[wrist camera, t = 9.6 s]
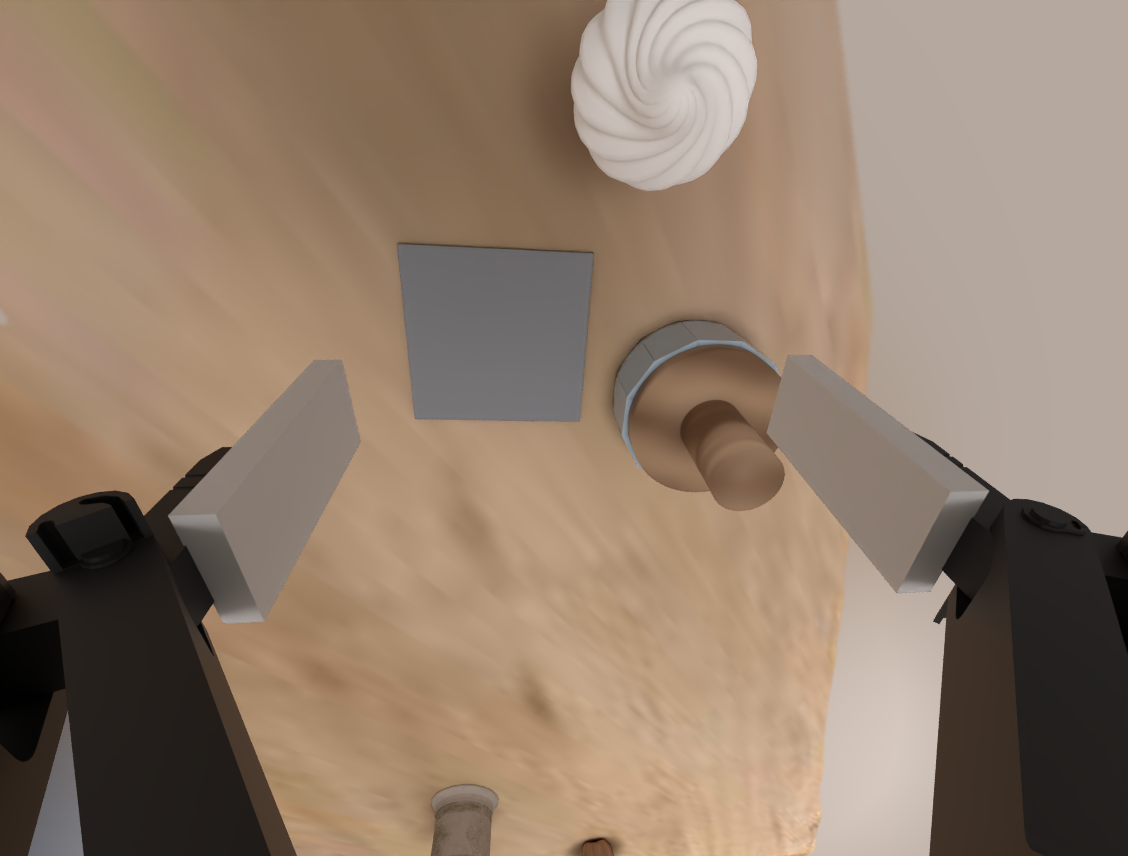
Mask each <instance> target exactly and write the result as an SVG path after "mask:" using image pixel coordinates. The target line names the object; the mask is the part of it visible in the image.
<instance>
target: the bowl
mask: <svg viewBox="0 0 1128 856" xmlns="http://www.w3.org/2000/svg"><path fill="white" fill-rule="evenodd" d="M710 344H725V345H733V346H737V347H741V348H743V349H746V350H748V351H751V352H752V353H754V354H756V355H757V356H759V357H760V358H761V359H762V360H763V361H765V362H766V363H767V364H768V365H769V366H771V367H772V368H773V369H774V370H775V371H776V372H777V374H778V371H777V367H776V364H775V363H773V362H772V361H771V360H770V359H769V358H767V357H766V356H765V355H764V354H763V353H761V352H760V351H759V350H758V349H757V348H755V347H754V346H753V345H752V344H750V343H749V342H747V341H746V340H745V339H743V338H742V337H740V336H739V335H738V334H736V333H735V332H734V331H732V330H731V329H729V328H728V327H726V326H725V325H724V324H718V323H715V322H711V321H704V320H687V321H681V322H677V323H673V324H670V325H667V326H665V327H662V328H660V329H658V330H656V331H654V332H653V333H651V334H649V335H648V336H647V337H645V338H644V339H643V340H641V341H640V342H639V343H638V344H637V345H636V346H635V347H634V348H633V349H632V350H631V352H630V353H629V354H628V355H627V357H626V358H625V360H624V361H623V363H622V365H621V367H620V369H619V371H618V374H617V377H616V380H615V385H614V393H613V400H614V408H613V412H614V415H615V418H616V420H617V423H618V426H619V429H620V432H621V435H622V437H623V439H624V441H625V443H626V445H627V447H628V449H629V450H630V452H631V454H632V456H633V458H634V460H635V462H636V464H637V466H638V467H639V468H641V469H643V468H642V467H641V466H640V464H639V462H638V461H637V458H636V456H635V454H634V451H633V448H632V446H631V443H630V439H629V435H628V415H629V410H630V406H631V404H632V401H633V398H634V396H635V394H636V392H637V390H638V389H639V387H640V386H641V384H642V383H643V381H644V380H645V379H646V378H647V377H648V376H649V374H650V373H651V372H652V371H653V370H655V369H656V368H657V367H658V366H659V365H660V364H662V363H663V362H665V361H666V360H667V359H669V358H671V357H673V356H674V355H676V354H678V353H680V352H683V351H685V350H688V349H691V348H694V347H698V346H703V345H710ZM778 375H779V374H778Z"/></svg>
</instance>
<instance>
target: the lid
mask: <svg viewBox="0 0 1128 856" xmlns="http://www.w3.org/2000/svg"><path fill="white" fill-rule="evenodd" d="M780 381H781V377H780V376H779V375H778V374H777V372H776V371H775V370H774V369H773V368H772V367H771V366H769V365H768V364H767V363H766V362H765V361H763V360H762V359H761V358H760V357H759V356H757V355H756V354H754V353H752V352H751V351H748V350H746V349H743V348H741V347H737V346H733V345H725V344H710V345H703V346H698V347H694V348H691V349H688V350H685V351H683V352H680V353H678V354H676V355H674V356H673V357H671V358H669V359H667V360H666V361H665V362H663V363H662V364H660V365H659V366H658V367H657V368H656V369H655V370H653V371H652V372H651V373H650V374H649V376H648V377H647V378H646V379H645V380H644V381H643V383H642V384H641V386H640V387H639V389H638V390H637V392H636V394H635V396H634V398H633V401H632V404H631V406H630V410H629V415H628V435H629V439H630V443H631V446H632V448H633V451H634V454H635V456H636V458H637V461H638V462H639V464H640V466H641V467H642V468H643V470H644V471H645V472H646V473H647V474H648V475H649V476H650V477H651V478H653V479H654V480H655V481H657V482H659V483H660V484H662V485H664V486H667V487H669V488H672V489H675V490H680V491H685V492H706V491H711V493H712V495H713V497H714V499H715V500H716V501H717V503H718V504H719V505H721V506H722V507H724V508H726V509H729V510H734V511H746V510H751V509H754V508H757V507H759V506H761V505H763V504H765V503H766V502H768V501H769V500H771V499H772V498H773V497H774V496H775V495H776V494H777V492H778V491H779V490H780V488H781V486H782V484H783V481H784V475H785V473H784V467H783V464H782V463H781V461H780V460H779V459H778V457H777V456H776V455H775V454H774V452H775V451H776V449H777V448H778V446H777V445H776V444H775V443H774V442H773V440H772V439H771V438H770V437H769V435H768V434H767V430H768V426H769V422H770V419H771V415H772V411H773V407H774V404H775V400H776V396H777V393H778V389H779V385H780Z"/></svg>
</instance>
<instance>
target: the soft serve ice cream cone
mask: <svg viewBox="0 0 1128 856" xmlns="http://www.w3.org/2000/svg"><path fill="white" fill-rule="evenodd" d="M579 54H580V56H579V57H578V59H577V61H576V63H575V66H574V69H573V72H572V75H571V94H572V97H573V101H574V110H573V111H574V121H575V127H576V129H577V132H578V134H579V137H580V139H581V141H582V142H583V143H584V144H585V145H586V147H587V148H588V149H589V152H590V155H591V156H592V158H593V160H594V161H595V163H596V165H597V166H598V167H599V168H600V169H601V170H602V171H603V172H604V173H605V174H607V175H608V176H609V177H611V178H614V179H616V180H619V181H621V182H625V183H626V184H628V185H630V186H632V187H633V188H636V189H640V190H645V191H658V190H665V189H667V188H669V187H671V186H673V185H680V184H684V183H687V182H691V181H693V180H695V179H696V178H698V177H700V176H702V175H703V174H705V173H706V172H707V171H708V170H709V169H710V168H711V167H712V166H713V165H714V164H715V163H716V162H717V161H718V159H719V157H720V156H721V154H722V153H723V152H724V151H726V150H727V149H728V148H729V146H730V145H731V144H732V142H733V141H734V140H735V139H736V137H737V136H738V135H739V133H740V131H741V128H742V126H743V124H744V122H745V119H746V115H747V109H748V103H749V99H750V97H751V94H752V91H753V88H754V85H755V82H756V77H757V59H756V55H755V52H754V48H753V45H752V36H751V23H750V20H749V17H748V15H747V13H746V10H745V9H744V8H743V7H742V6H741V5H740V4H738V3H737V2H736V1H734V0H607V1H606V5H605V9H604V10H602V11H601V12H600V13H598V14H597V15H596V16H594V17H593V18H592V19H591V20H590V21H589V23H588V24H587V26H586V28H585V30H584V32H583V34H582V36H581V43H580V50H579Z"/></svg>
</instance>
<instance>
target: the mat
mask: <svg viewBox="0 0 1128 856" xmlns="http://www.w3.org/2000/svg"><path fill="white" fill-rule="evenodd" d="M397 248H398V257H399V267H400V277H401V287H402V297H403V307H404V317H405V326H406V336H407V346H408V356H409V366H410V376H411V386H412V395H413V405H414V415H415V419H435V420H498V421H560V422H580V411H581V399H582V387H583V375H584V363H585V351H586V339H587V327H588V315H589V303H590V291H591V279H592V267H593V256H594V253H588V252H568V251H547V250H527V249H506V248H485V247H465V246H444V245H424V244H403V243H398V244H397Z"/></svg>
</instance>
